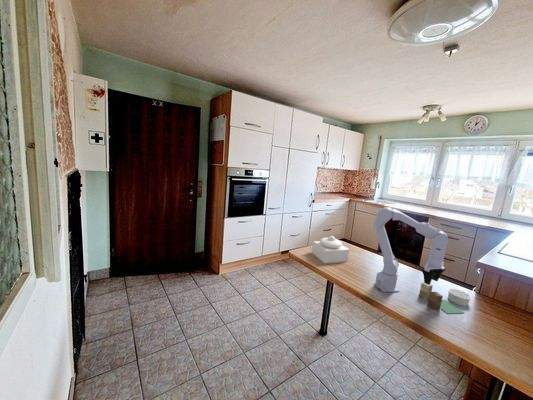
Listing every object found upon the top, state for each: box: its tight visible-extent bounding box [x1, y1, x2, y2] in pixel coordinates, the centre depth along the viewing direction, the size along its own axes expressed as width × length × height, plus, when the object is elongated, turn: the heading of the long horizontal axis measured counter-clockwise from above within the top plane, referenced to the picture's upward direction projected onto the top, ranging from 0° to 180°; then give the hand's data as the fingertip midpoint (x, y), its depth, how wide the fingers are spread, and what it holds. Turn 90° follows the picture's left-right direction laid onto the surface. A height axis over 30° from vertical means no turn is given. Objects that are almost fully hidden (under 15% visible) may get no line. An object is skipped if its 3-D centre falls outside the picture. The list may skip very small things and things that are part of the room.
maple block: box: [418, 281, 434, 300], centre depth 118 cm, size 4×4×7 cm
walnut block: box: [426, 291, 444, 311], centre depth 110 cm, size 4×4×7 cm
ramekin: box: [447, 288, 472, 307], centre depth 117 cm, size 9×9×4 cm
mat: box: [440, 299, 465, 315], centre depth 111 cm, size 9×10×1 cm
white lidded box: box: [311, 235, 350, 265], centre depth 159 cm, size 18×18×16 cm
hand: (430, 281), depth 113 cm, fingers open, 7 cm apart
